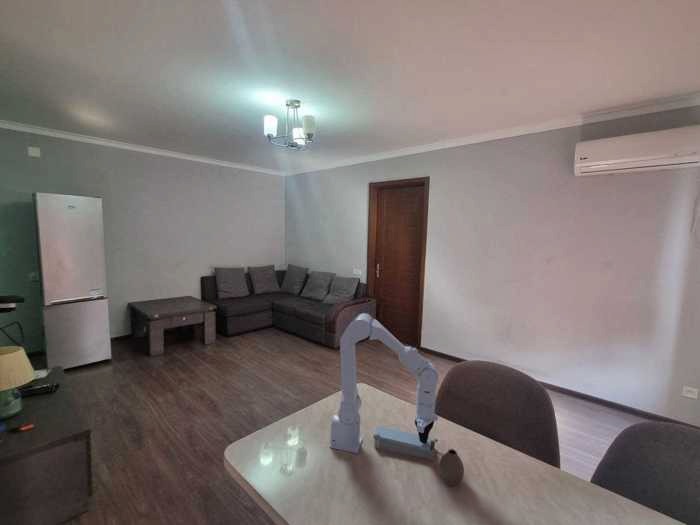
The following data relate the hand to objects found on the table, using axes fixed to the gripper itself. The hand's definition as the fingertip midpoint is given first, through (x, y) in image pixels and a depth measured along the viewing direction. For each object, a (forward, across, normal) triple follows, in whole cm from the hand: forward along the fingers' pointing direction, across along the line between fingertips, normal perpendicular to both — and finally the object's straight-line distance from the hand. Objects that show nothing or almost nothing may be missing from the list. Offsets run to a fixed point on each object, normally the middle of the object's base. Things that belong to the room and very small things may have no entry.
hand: (423, 441), depth 101 cm
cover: (+2, +1, +7) cm, 7 cm away
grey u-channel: (+5, +1, +6) cm, 7 cm away
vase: (+5, -6, -10) cm, 13 cm away
